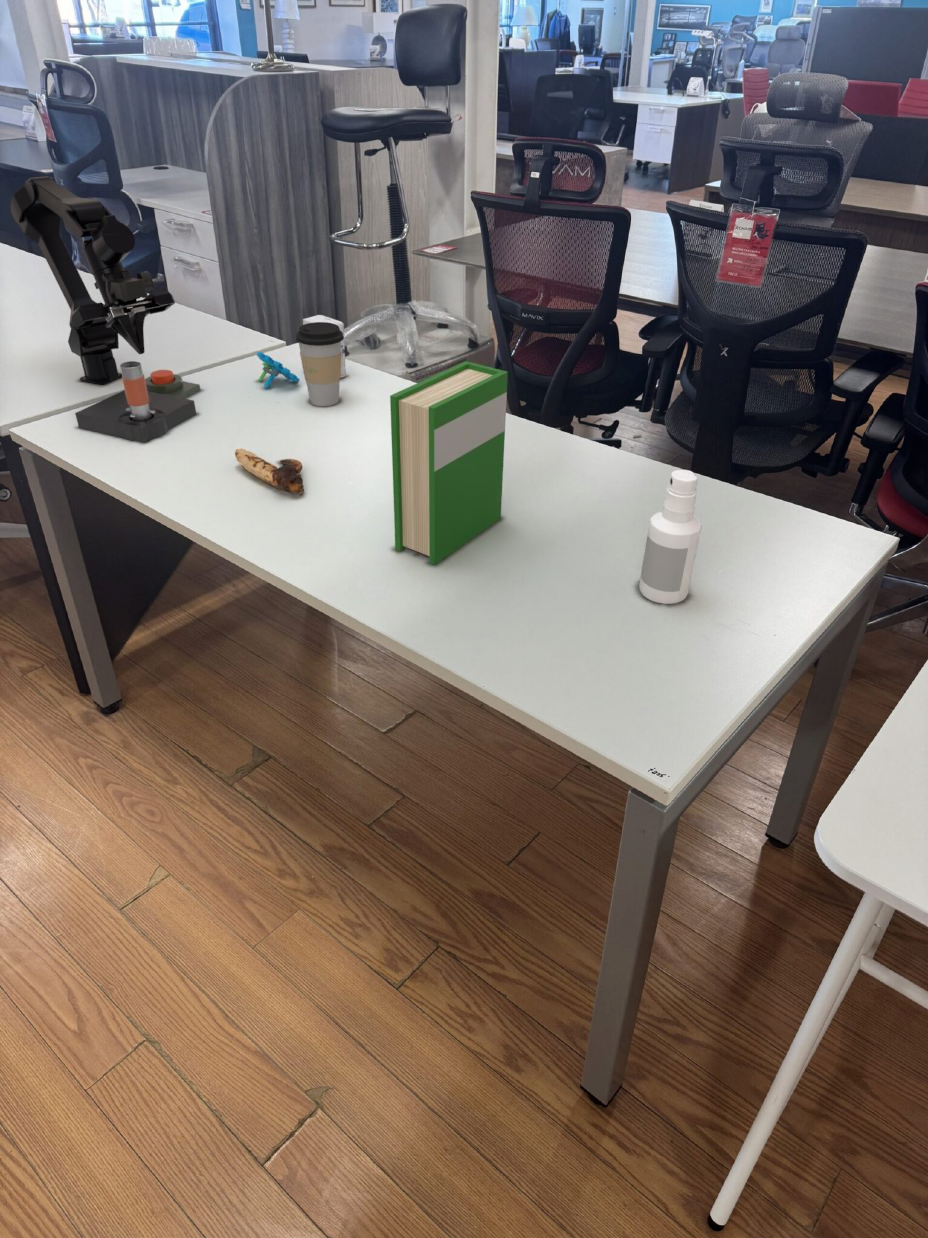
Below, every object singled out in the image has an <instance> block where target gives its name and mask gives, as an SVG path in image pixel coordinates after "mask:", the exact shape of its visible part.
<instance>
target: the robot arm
mask: <svg viewBox="0 0 928 1238" xmlns="http://www.w3.org/2000/svg"><path fill="white" fill-rule="evenodd" d="M10 213H11V215H12V218H13V220H14V222H16V223H17V224H18V226H19V227H20V229H21V231H22V232H23V234H24V235H25V236H26V237H27V238H29V239H31V240H32V241H33V242H34V243H36V244H37V245H38V247H39V248H40V251H41V253H42V255H43V256H44V259H45V261H46V263H47V264H48V267H49V269H50V271H51V273H52V275H53V277H54V279H55V281H56V283H57V284H58V287H59V289H60V291H61V293H62V295H63V297H64V300H65V301H66V304H67V305H68V307H69V310H70V316H69V322H68V323H69V324H68V325H69V327H70V330H69V331H70V332H69V336H68V340H67V343H68V346H69V348H70V351H71V353H73V354H75V355H76V356H78V357H79V358H80V361H81V365H82V370H83V374H84V376H81V377H80V378H79V380H80V381H81V382H86V383H91V384H96V385H100V386H103V385H106V384H108V383H110V382H113V381H115V380H117V379H120V378H122V372H119V371H118V367H117V362H116V358H115V357H114V354H113V350H115V349H116V350H117V349H119V347H120V346H119V345H120V343H119V336H120V337H122V338H123V340H124V341H126V342H127V343H128V345H129V346H130V347H131V348H132V349H133V350H134V351H135V353H137V354H138V355H143V354H144V353H145V350H146V349H145V337H144V334H145V333H144V327H145V326H144V325H145V319H146V317H147V316H148V315H152V314H158V313H163V312H167V310H169V309H170V308H171V307H172V306H173V305H175V304H176V301H175V299H174V296H173V294H172V293H171V292H170V291H168V290H167V289H164V290H160V291H154V292H150V293H149V294H148V291H152V290H154V289H155V284H154V280H153V278H152V275H151V273H150V272H149V271H146V270H145V271H138V272H137V273H136V277H132V276H131V274H130V272H129V270H127V269H126V270H125V268H124V265H123V262H122V261H123V260H124V259H125V258H126V257H127V256H128V255H129V254H130V253H131V252H132V250H133V249H134V247H135V244H136V239H135V235H134V232H133V231H132V230H131V229H130V228H129V227H128V226H127V225H126V224H124V223H123V222H121V221H120V220H119V219H118V218H117V217H116V215H115V214H112V213H111V211H110V210H109V209H108V208H107V207H106V206H105V205H104V204H103V202H101V201H100V200H99V199H94V198H90V197H79V196H78V195H76V194H74V193H73V192H71V191H70V190H68V189H67V188H65V187H63V186H62V185H61V184H60V183H57V181H56V179H55V178H54V177H52V176H51V177H50V176H48V175H47V176H38V177H37V176H36V177H29V178H28V179H26V180H25V183H24V185H23V187H21V188H20V189H18V191H16V192H15V193H13V195H12V198H11V202H10ZM62 221H63V224H64V228H65V229H66V230H67V231H68V232H69V234H71V235H72V236H73V237H74V238H76V239H77V238H79V239H81V238H87V237H91V238H90V239H84V240H83V243H82V248H81V256H83V257H85V259H86V262H87V263H88V266H89V269H90V271H91V273H92V275H93V279H94V280H95V282H94V283H93V285H94V287H95V290H99V293H100V295H101V297H102V300H103V302H104V303H103V302H96V301H95V300H93V298H92V297H91V295H90V293H89V290H88V289H87V287H86V284H85V283H84V281H83V278H82V277H81V274H80V272H79V270H78V268H77V266H76V264H75V262H74V260H73V258H72V256H71V254H70V251H69V250H68V248H67V246H66V244H65V242H64V240H63V238H62V236H61V233H60V230H61V224H62V223H61V222H62ZM141 298H142V299H141Z"/></svg>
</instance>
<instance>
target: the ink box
mask: <svg viewBox="0 0 928 1238" xmlns="http://www.w3.org/2000/svg"><path fill="white" fill-rule="evenodd" d="M314 322H327V323H333V324H336V325H338V326H339V329H340V331H342V333H343V336H344V337H345V323H343V321H340V320H338V319H335V318H332V317H329V316H326V315H323V314H317V315H314V316H309V317H306V318H302V325H304V324H308V323H314ZM345 344H346V343H345V338H344V339H343V340H342V341H341V376H340V379H343V378H345V377H346V376H347V374H346V373H347V371H346V369H347V368H346V348H345V347H346V345H345Z"/></svg>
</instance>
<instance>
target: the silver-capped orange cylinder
mask: <svg viewBox="0 0 928 1238" xmlns="http://www.w3.org/2000/svg"><path fill="white" fill-rule="evenodd" d="M119 368H120V373H122V377H121V380H122V385H123V391H124V390H125V394H126V399H127V403H128V405H129V408H127V409H126V411H130V413H131V415H130V417H132V421H135V422H141V421H147V420H150V419H152V415H151V414H153V413H155V411H152V410H150V405H149V396H148V392H147V387H146V382H145V379H146V377H145V375H144V373H143V372H144V371H143V368H142V363H141V362H139V361H136V360H135V361H134V360H133V361H131V360H130V361H125V362H122V363H120V365H119Z"/></svg>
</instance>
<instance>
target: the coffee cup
mask: <svg viewBox="0 0 928 1238" xmlns="http://www.w3.org/2000/svg"><path fill="white" fill-rule="evenodd" d="M295 336H296V337H295V341H297V343H298V347H299V356H300V360H301V361H300V362H301V366H302V371H303V375H304V377H303V378H304V380H305V383H306V387H307V392H308V397H309V402H310V403H311V405H313V406H317V407H330V406H334V405H337V404H338V403H339V401H340V381H341V378H340V376H341V341H342V340H343V339H344V340H345V335H344V336H343V333H342V331H340V329H339V326H338V325H336V324H333V323H327V322H314V323H308V324H304V325H303V324H302V325H300V326H299V327H298V332H296V334H295Z"/></svg>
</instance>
